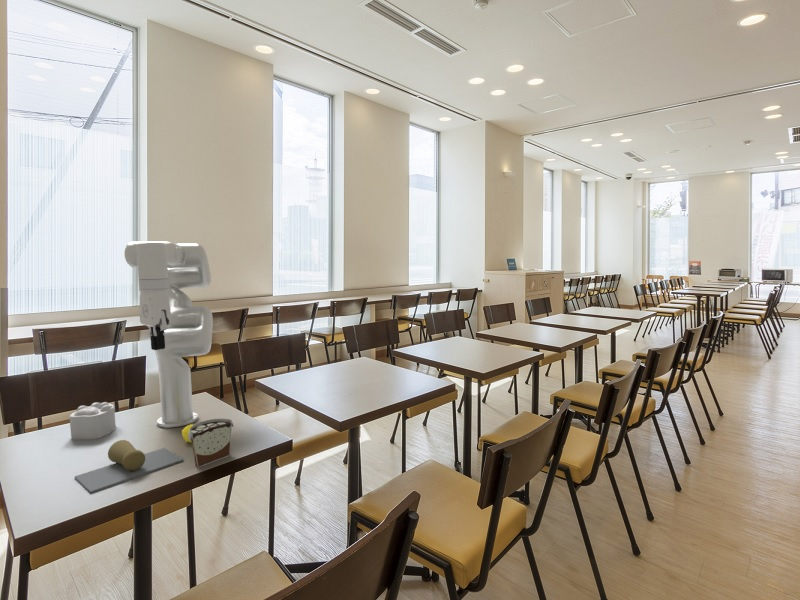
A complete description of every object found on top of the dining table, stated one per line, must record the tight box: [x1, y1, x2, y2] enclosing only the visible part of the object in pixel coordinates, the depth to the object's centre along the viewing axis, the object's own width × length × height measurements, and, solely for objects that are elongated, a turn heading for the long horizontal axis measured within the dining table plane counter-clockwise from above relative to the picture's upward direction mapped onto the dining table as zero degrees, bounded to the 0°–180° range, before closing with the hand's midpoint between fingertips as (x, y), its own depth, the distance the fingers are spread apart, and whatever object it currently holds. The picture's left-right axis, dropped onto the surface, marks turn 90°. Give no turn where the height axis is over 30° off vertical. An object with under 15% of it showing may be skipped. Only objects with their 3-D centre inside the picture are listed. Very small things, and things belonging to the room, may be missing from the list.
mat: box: [74, 447, 185, 494], centre depth 121 cm, size 12×22×1 cm, turn 140°
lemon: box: [181, 423, 196, 444], centre depth 139 cm, size 7×5×5 cm
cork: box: [107, 439, 145, 471], centre depth 122 cm, size 6×6×11 cm
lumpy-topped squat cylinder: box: [69, 401, 117, 440], centre depth 148 cm, size 10×13×9 cm
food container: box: [188, 418, 234, 469], centre depth 127 cm, size 12×6×10 cm, turn 141°
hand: (158, 349), depth 133 cm, fingers closed
